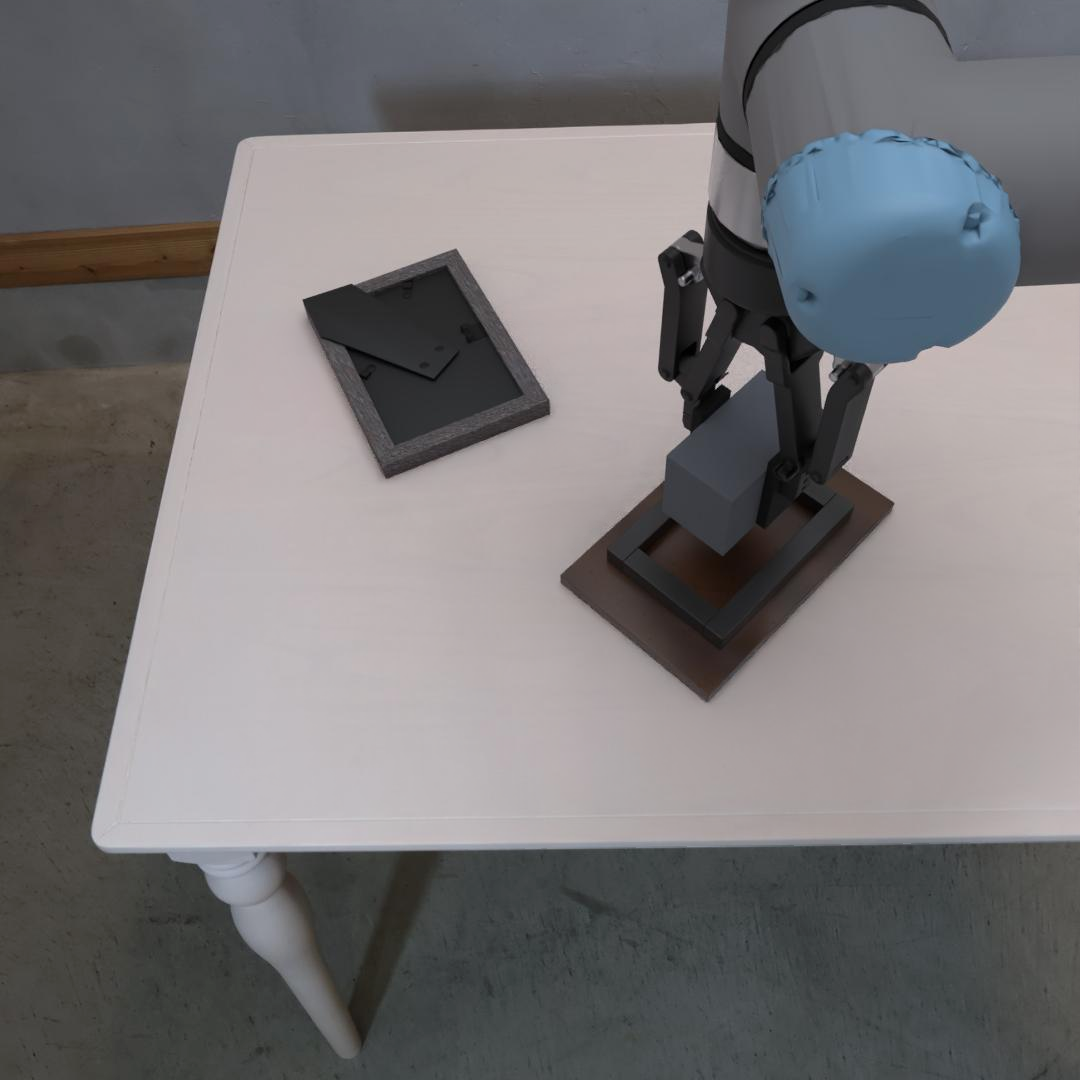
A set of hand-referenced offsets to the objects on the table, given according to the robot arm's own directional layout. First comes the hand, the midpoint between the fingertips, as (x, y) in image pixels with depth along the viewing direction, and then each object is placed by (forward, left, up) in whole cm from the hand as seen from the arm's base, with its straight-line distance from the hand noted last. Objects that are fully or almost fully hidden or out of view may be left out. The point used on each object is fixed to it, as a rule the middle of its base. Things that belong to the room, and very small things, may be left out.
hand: (738, 487), depth 72 cm
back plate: (0, 0, -7) cm, 7 cm away
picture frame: (+28, +3, -7) cm, 29 cm away
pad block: (0, 0, 0) cm, 0 cm away
